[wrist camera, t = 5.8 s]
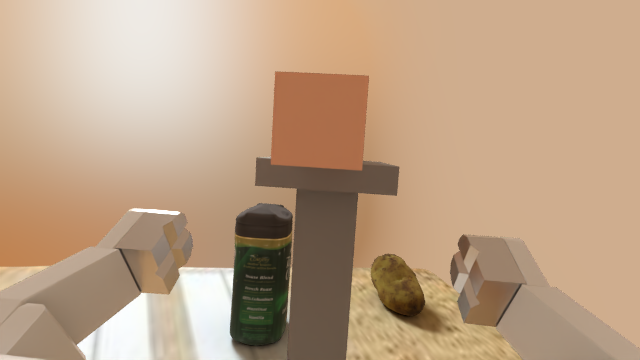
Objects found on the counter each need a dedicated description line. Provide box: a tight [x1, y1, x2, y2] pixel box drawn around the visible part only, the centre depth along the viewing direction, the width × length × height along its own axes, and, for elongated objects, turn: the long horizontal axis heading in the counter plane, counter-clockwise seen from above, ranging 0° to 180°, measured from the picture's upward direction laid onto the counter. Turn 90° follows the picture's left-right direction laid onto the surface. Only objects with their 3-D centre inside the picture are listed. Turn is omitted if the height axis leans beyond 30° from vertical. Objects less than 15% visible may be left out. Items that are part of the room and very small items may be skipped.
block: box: [271, 72, 369, 171], centre depth 25 cm, size 22×4×4 cm, turn 176°
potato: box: [371, 254, 425, 316], centre depth 59 cm, size 8×13×8 cm, turn 178°
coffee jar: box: [230, 203, 293, 345], centre depth 47 cm, size 10×8×19 cm
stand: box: [255, 157, 399, 360], centre depth 30 cm, size 12×10×26 cm
